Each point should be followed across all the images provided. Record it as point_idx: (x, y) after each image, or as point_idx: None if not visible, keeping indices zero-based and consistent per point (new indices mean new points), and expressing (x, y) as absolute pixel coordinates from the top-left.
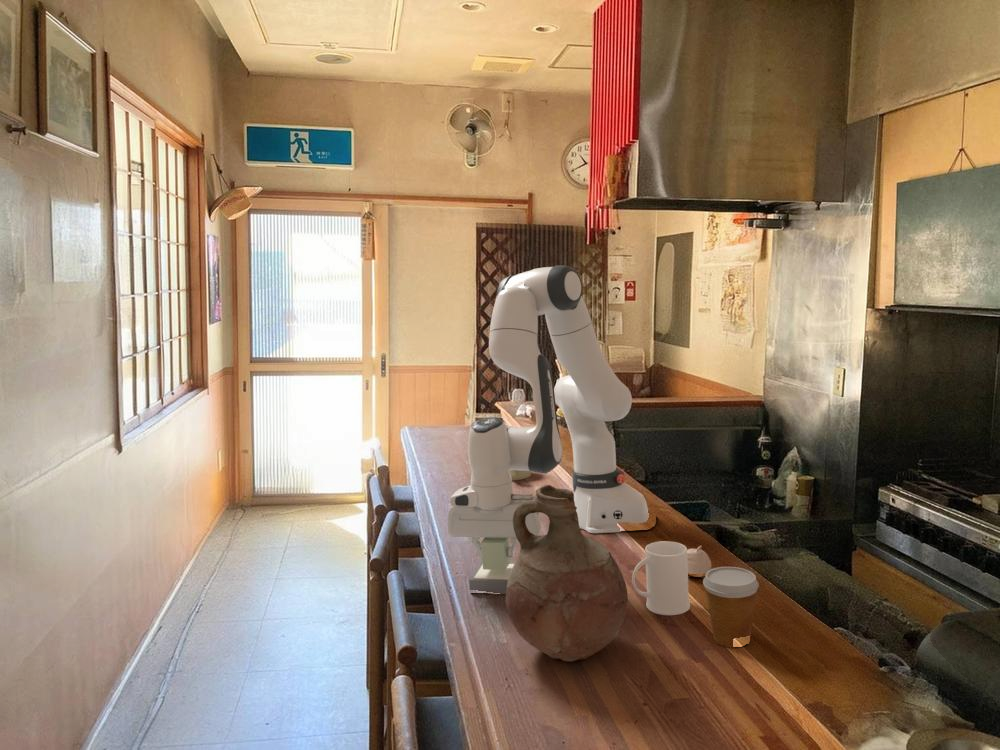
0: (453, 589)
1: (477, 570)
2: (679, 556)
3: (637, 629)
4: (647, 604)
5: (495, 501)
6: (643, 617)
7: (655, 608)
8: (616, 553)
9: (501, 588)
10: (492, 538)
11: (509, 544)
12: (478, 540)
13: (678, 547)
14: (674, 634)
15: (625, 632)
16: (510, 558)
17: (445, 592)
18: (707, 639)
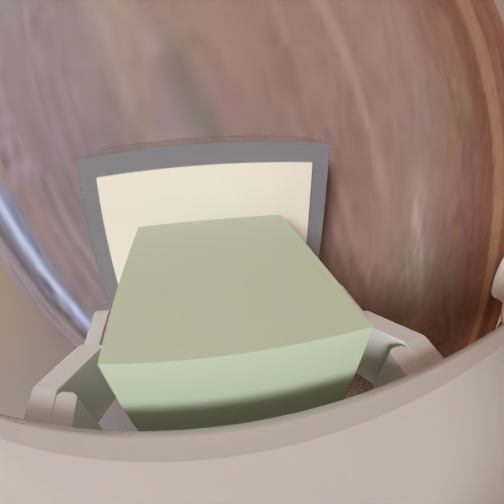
0: (65, 297)
1: (107, 267)
2: None
3: (460, 340)
4: (496, 286)
5: None
6: (478, 309)
7: (496, 297)
8: (490, 17)
9: None
10: (216, 422)
11: (327, 273)
12: (71, 383)
13: None
14: (480, 333)
15: (447, 352)
16: (286, 223)
17: (57, 319)
18: (493, 329)
